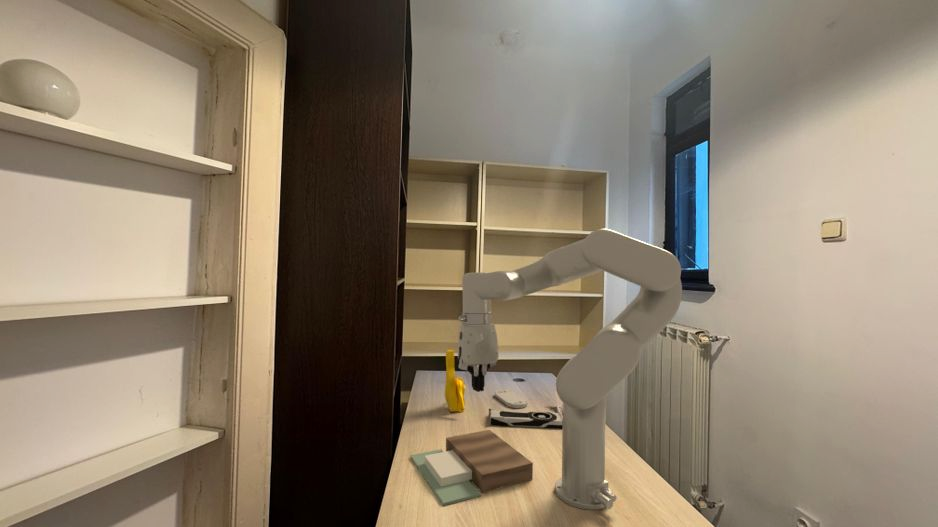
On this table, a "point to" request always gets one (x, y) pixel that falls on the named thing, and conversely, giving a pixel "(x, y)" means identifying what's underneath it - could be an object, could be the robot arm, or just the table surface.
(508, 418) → the graphics card
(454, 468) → the tile
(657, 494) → the table surface
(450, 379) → the yellow upright piece
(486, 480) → the block
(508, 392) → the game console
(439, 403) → the table surface
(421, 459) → the mat
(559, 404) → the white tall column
